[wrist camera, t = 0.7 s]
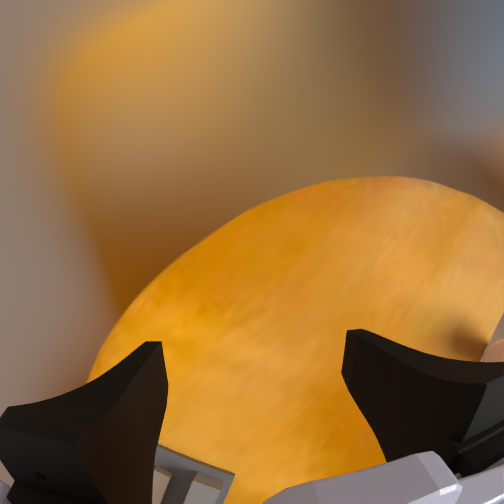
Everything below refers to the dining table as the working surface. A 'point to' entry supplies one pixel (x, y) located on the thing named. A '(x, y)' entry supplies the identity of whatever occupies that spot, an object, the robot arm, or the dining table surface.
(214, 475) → the grey fixture base
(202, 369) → the dining table surface
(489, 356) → the smoothie
